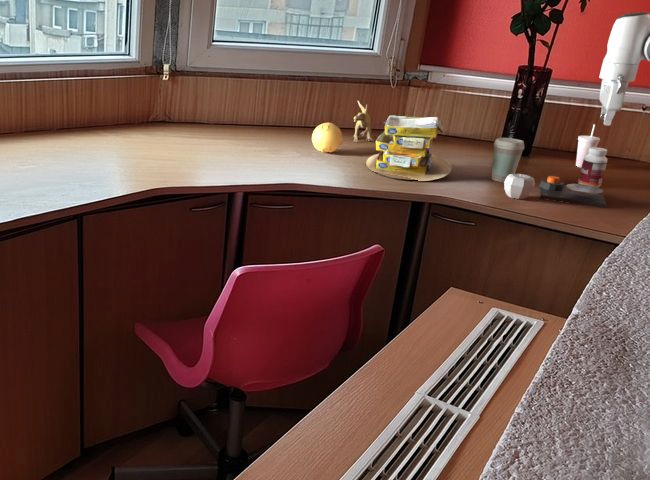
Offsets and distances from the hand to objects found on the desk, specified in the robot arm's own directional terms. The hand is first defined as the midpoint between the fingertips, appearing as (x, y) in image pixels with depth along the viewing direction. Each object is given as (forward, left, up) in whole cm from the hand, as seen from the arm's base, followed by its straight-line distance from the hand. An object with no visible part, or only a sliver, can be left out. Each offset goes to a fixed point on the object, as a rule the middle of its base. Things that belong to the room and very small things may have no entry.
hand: (604, 122), depth 206 cm
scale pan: (+3, +20, -16) cm, 26 cm away
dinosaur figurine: (+72, -26, -19) cm, 79 cm away
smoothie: (0, -26, -19) cm, 32 cm away
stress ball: (+79, +2, -19) cm, 81 cm away
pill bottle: (0, 0, -19) cm, 19 cm away
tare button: (+11, +15, -16) cm, 25 cm away
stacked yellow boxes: (+51, +13, -19) cm, 56 cm away
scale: (+6, +18, -19) cm, 27 cm away
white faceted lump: (+20, +27, -19) cm, 38 cm away
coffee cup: (+24, +8, -19) cm, 31 cm away
